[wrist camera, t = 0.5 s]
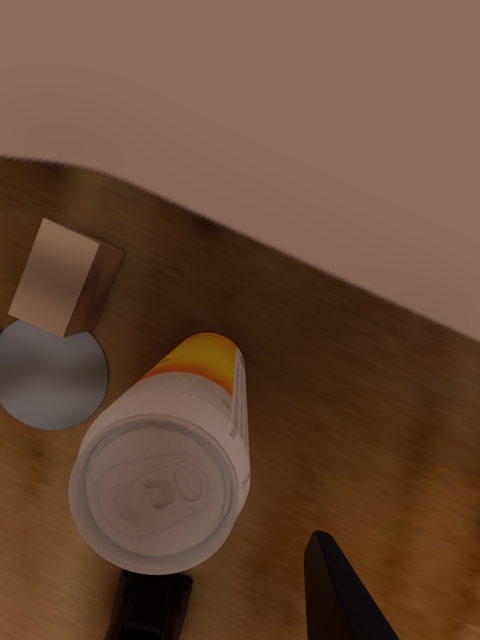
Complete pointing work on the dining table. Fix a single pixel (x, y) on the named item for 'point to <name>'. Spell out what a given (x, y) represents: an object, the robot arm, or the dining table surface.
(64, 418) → the beam vee
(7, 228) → the dining table surface
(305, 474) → the dining table surface
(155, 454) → the beer can
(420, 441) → the dining table surface
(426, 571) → the dining table surface
